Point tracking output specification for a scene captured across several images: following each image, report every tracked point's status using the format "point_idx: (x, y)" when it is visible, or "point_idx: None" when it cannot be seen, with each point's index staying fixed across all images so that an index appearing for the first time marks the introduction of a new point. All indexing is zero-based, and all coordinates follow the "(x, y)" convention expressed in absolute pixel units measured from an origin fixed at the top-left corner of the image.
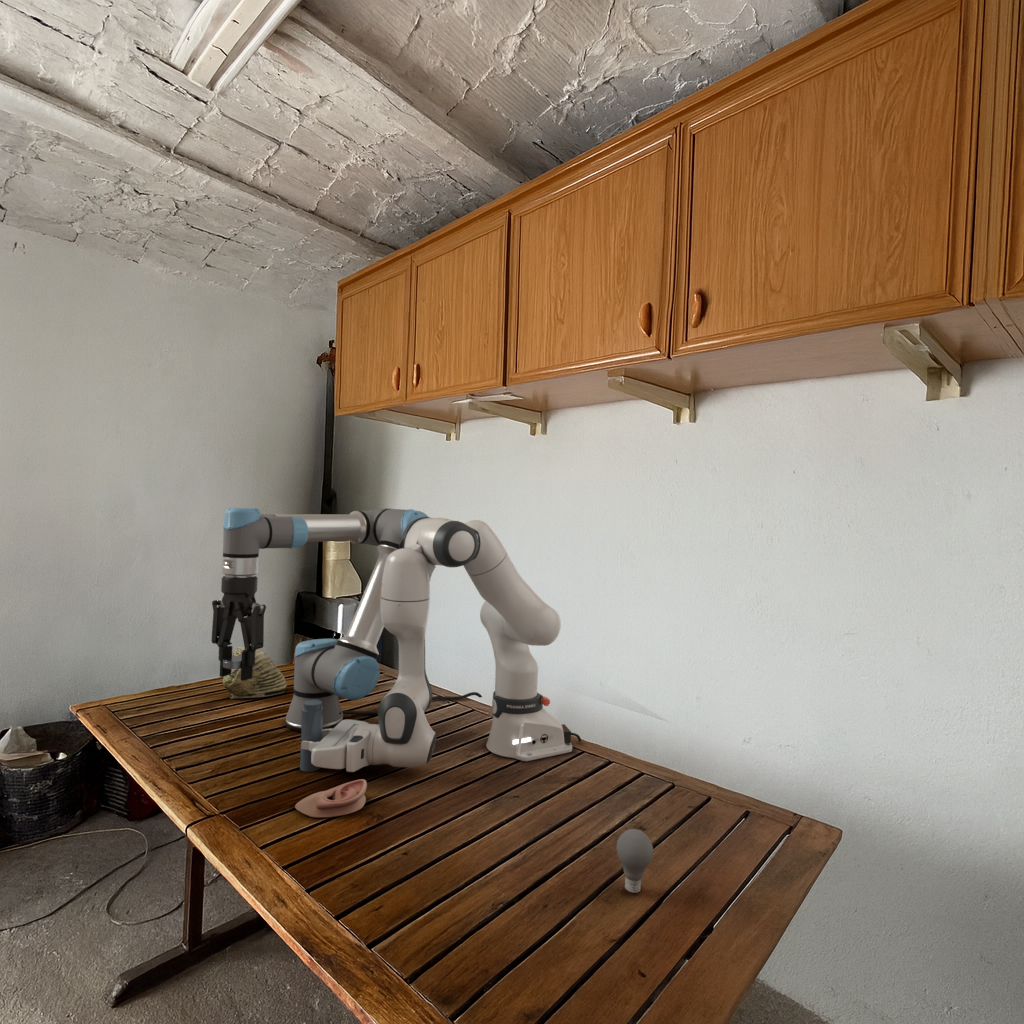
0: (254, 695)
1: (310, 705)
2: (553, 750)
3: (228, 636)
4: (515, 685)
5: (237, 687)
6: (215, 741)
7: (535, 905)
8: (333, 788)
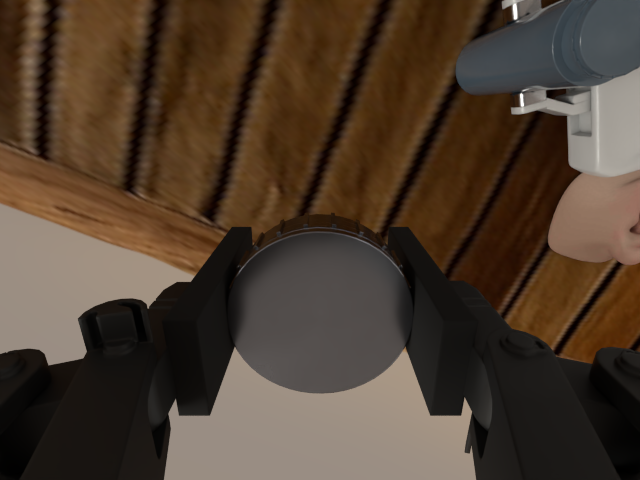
0: None
1: (624, 72)
2: None
3: (143, 463)
4: None
5: None
6: (129, 41)
7: None
8: (636, 201)
